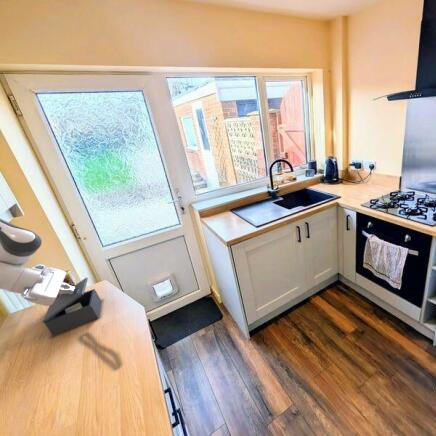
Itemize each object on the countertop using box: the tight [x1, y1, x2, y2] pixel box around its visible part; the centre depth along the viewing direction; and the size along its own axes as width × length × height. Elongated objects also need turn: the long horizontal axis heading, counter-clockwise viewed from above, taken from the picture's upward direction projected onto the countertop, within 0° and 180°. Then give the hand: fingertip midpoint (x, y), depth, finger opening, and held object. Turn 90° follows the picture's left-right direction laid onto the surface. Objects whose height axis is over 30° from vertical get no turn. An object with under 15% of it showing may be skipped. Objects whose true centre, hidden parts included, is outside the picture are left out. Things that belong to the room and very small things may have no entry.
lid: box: [42, 277, 89, 323], centre depth 99 cm, size 15×13×1 cm
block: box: [65, 302, 83, 314], centre depth 102 cm, size 5×5×5 cm
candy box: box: [56, 269, 78, 299], centre depth 110 cm, size 9×4×15 cm, turn 126°
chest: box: [43, 288, 102, 337], centre depth 102 cm, size 15×13×8 cm
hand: (74, 290), depth 99 cm, fingers closed
